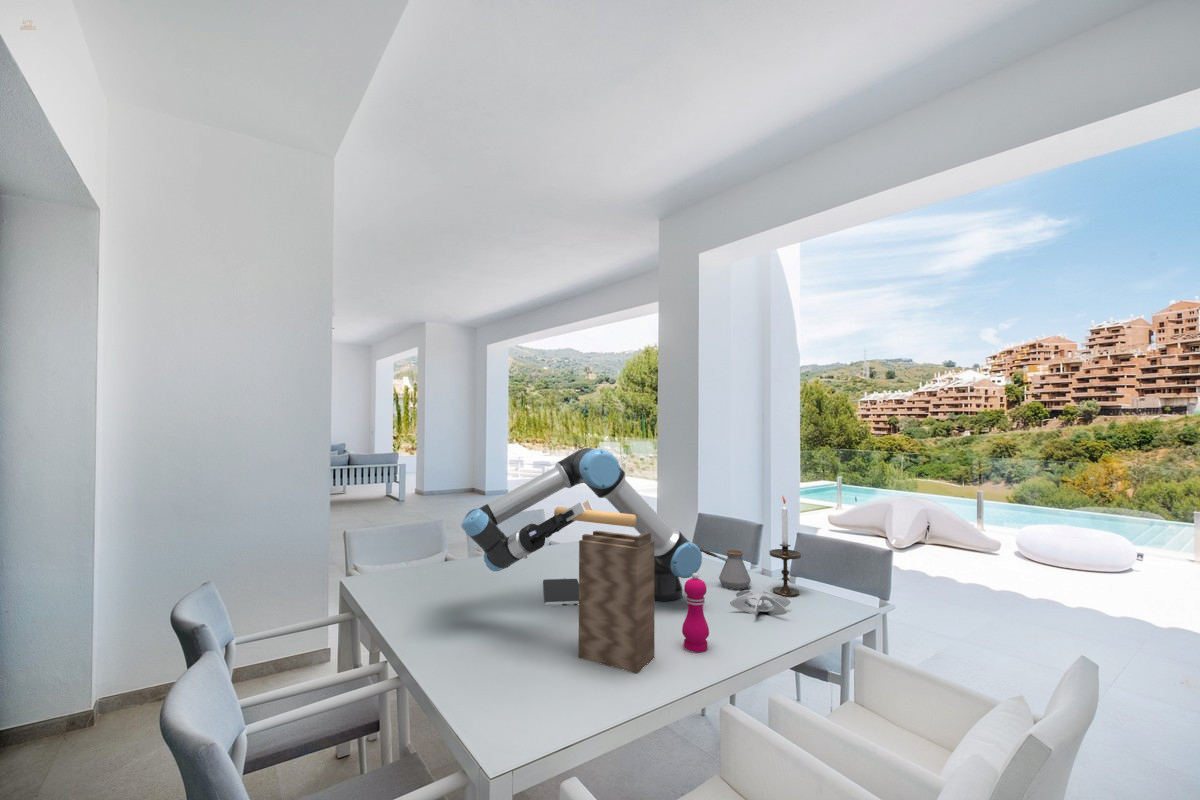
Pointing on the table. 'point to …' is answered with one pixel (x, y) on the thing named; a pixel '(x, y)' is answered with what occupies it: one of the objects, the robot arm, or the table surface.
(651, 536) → the robot arm
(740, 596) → the sculpture
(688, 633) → the pepper mill
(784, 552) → the candlestick
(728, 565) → the coffee pot
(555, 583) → the smartphone
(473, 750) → the table surface
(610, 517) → the pin
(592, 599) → the stand
